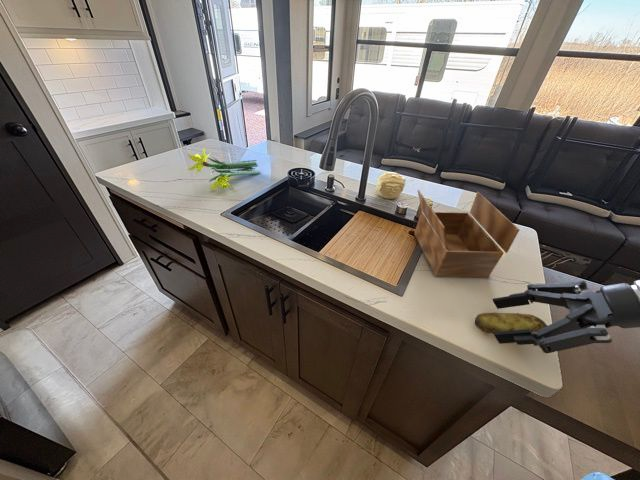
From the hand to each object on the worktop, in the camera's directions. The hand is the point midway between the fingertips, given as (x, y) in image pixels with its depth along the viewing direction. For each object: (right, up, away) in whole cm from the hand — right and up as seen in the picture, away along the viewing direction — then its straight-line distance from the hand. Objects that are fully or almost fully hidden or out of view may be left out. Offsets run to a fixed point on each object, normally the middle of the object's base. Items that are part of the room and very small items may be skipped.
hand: (495, 319), depth 59 cm
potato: (+3, -4, +1) cm, 5 cm away
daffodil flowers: (-82, +45, +60) cm, 111 cm away
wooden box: (+1, +14, +25) cm, 28 cm away
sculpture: (-10, +38, +56) cm, 68 cm away
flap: (-8, +25, +16) cm, 31 cm away
